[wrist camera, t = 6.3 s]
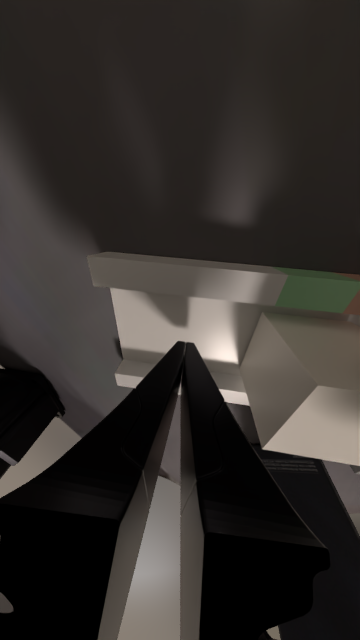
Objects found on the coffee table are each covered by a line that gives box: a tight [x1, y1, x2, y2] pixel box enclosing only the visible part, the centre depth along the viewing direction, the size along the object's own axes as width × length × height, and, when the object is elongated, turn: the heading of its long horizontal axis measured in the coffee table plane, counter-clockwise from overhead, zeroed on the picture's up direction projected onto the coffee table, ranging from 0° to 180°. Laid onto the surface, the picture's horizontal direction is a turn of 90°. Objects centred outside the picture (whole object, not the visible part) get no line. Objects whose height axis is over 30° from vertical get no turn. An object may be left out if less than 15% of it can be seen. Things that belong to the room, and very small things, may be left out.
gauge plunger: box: [240, 312, 360, 466], centre depth 6 cm, size 4×7×4 cm, turn 176°
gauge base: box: [86, 252, 360, 474], centre depth 7 cm, size 15×8×4 cm, turn 86°
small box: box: [252, 445, 360, 640], centre depth 12 cm, size 11×6×10 cm, turn 22°
